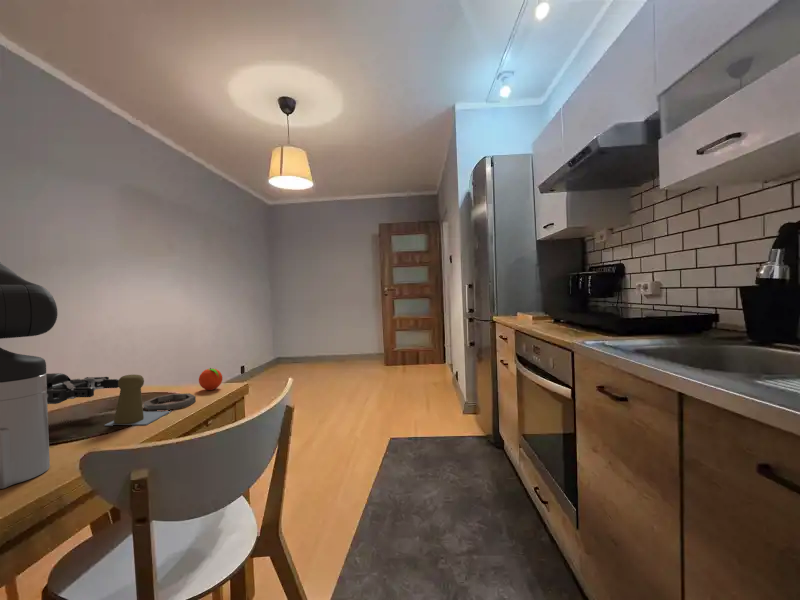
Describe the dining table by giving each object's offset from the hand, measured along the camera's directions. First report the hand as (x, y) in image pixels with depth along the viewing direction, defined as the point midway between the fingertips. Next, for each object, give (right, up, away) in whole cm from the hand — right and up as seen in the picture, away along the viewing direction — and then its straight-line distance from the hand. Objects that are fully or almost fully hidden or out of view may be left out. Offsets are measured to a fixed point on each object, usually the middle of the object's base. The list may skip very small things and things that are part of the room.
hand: (106, 387), depth 94 cm
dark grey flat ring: (+9, -8, +12) cm, 17 cm away
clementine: (+13, -7, +28) cm, 32 cm away
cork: (+7, -8, -2) cm, 11 cm away
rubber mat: (+8, -8, 0) cm, 11 cm away
